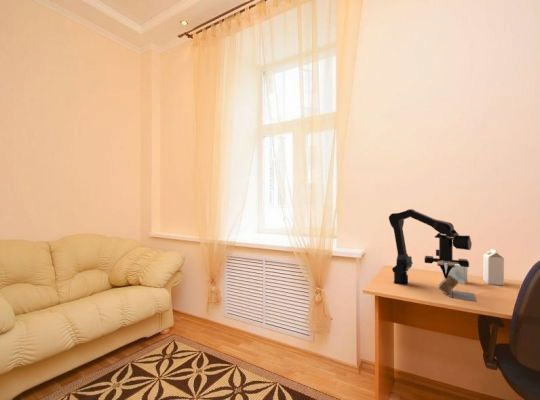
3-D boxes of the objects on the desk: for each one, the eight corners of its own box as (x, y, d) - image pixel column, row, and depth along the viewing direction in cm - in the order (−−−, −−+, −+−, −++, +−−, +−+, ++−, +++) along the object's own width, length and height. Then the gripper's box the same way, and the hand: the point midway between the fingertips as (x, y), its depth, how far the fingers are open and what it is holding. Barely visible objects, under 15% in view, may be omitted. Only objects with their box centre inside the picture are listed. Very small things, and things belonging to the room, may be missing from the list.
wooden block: (438, 288, 140) (449, 276, 138) (438, 285, 144) (449, 274, 141) (446, 294, 138) (458, 283, 136) (446, 291, 142) (457, 280, 140)
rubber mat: (453, 297, 134) (453, 297, 134) (452, 290, 144) (452, 290, 144) (476, 301, 129) (476, 301, 129) (473, 293, 139) (473, 293, 139)
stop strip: (448, 297, 135) (448, 295, 135) (447, 289, 145) (447, 288, 145) (451, 297, 134) (451, 295, 134) (450, 290, 144) (450, 288, 144)
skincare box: (443, 280, 162) (443, 262, 161) (446, 277, 166) (446, 260, 166) (464, 284, 154) (464, 265, 154) (467, 282, 158) (467, 263, 158)
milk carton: (497, 281, 158) (498, 248, 158) (503, 285, 151) (504, 250, 151) (483, 280, 160) (483, 247, 160) (488, 284, 154) (488, 250, 153)
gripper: (466, 246, 142) (466, 276, 142) (425, 243, 152) (425, 271, 152) (469, 250, 133) (469, 282, 133) (424, 246, 142) (424, 277, 142)
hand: (445, 278), depth 140 cm, fingers closed
